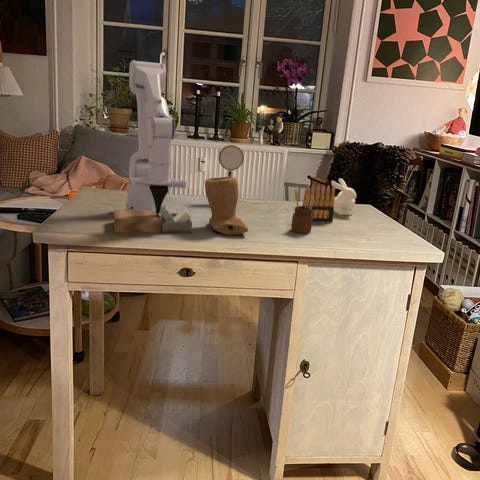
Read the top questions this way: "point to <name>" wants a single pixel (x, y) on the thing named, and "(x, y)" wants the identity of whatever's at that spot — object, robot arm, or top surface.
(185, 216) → the tile cream
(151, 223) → the walnut plate
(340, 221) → the top surface
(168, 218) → the tile slate
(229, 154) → the magnifying glass
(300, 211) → the utensil holder
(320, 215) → the ammunition clip
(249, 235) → the top surface
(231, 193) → the tan suede boot
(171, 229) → the bin
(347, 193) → the rabbit
